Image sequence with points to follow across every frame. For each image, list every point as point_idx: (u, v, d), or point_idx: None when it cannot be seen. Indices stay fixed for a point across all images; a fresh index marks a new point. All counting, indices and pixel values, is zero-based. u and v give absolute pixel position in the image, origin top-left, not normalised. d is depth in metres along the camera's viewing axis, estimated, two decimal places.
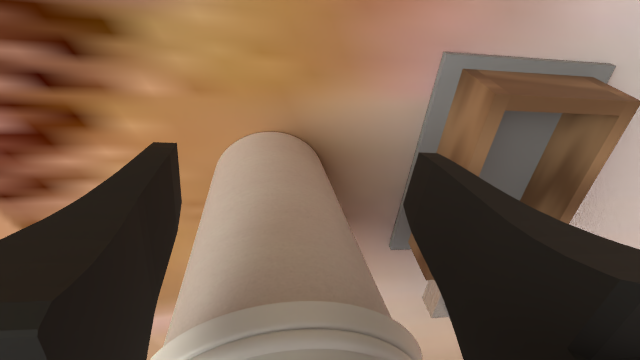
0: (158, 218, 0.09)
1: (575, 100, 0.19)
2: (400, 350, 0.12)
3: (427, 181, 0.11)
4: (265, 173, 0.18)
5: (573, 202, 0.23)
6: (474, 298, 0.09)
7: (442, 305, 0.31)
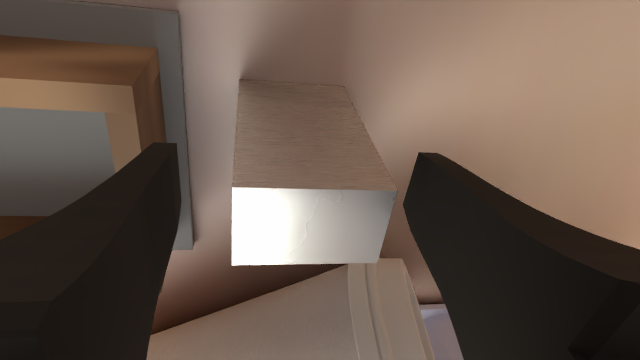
0: (158, 218, 0.09)
1: None
2: None
3: (427, 181, 0.11)
4: None
5: None
6: (474, 298, 0.09)
7: None
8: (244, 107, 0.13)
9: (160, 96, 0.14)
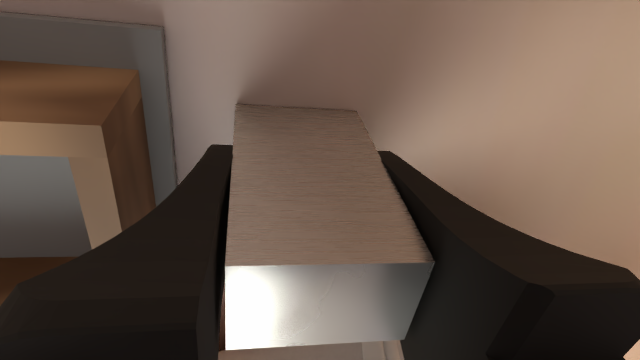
0: (226, 218, 0.10)
1: None
2: None
3: None
4: None
5: None
6: None
7: None
8: (241, 143, 0.11)
9: (143, 125, 0.12)
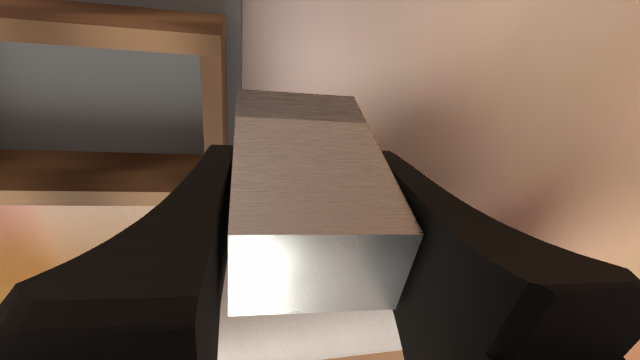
0: (225, 218, 0.10)
1: None
2: None
3: None
4: (254, 358, 0.21)
5: (39, 36, 0.14)
6: (414, 300, 0.09)
7: None
8: (242, 125, 0.11)
9: (225, 52, 0.18)
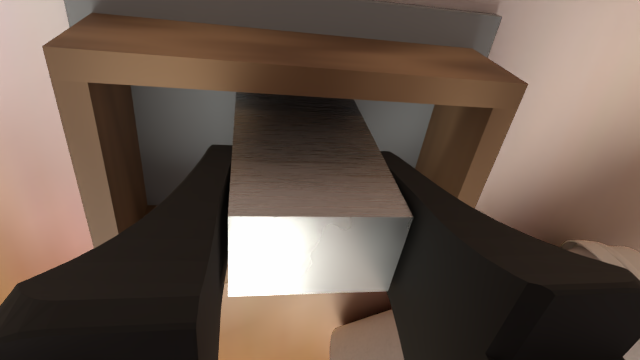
0: (226, 218, 0.10)
1: (81, 182, 0.11)
2: None
3: None
4: None
5: (313, 87, 0.11)
6: (413, 300, 0.09)
7: None
8: (242, 116, 0.12)
9: None
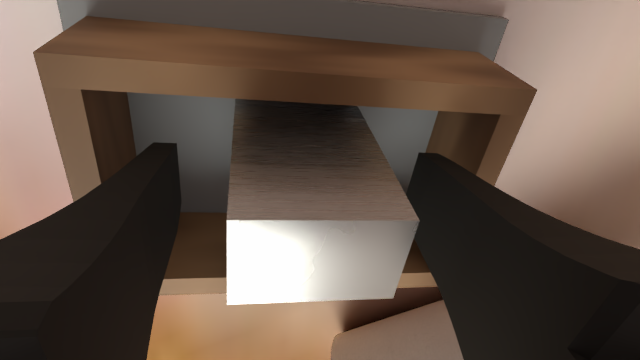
0: (159, 218, 0.09)
1: (75, 191, 0.11)
2: None
3: (427, 181, 0.11)
4: None
5: (315, 93, 0.10)
6: (474, 298, 0.09)
7: None
8: (241, 119, 0.11)
9: None
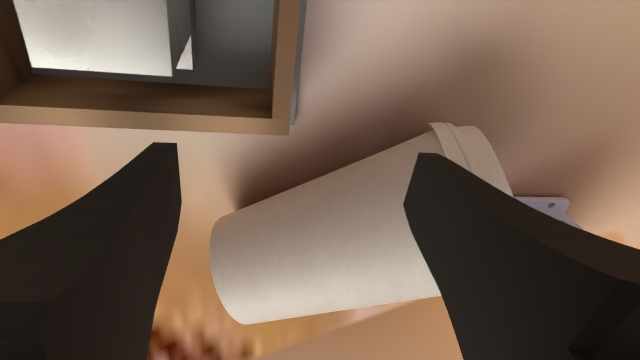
0: (158, 218, 0.09)
1: None
2: None
3: (427, 181, 0.11)
4: (314, 300, 0.20)
5: None
6: (474, 298, 0.09)
7: None
8: None
9: None
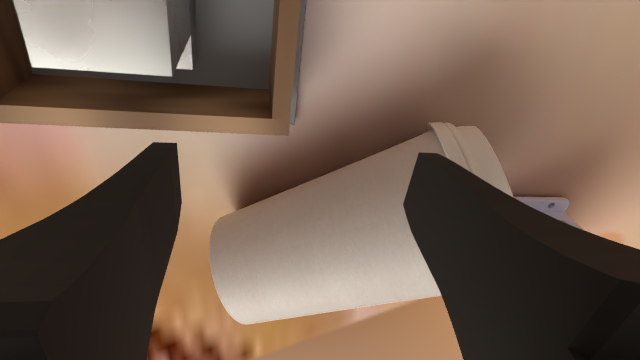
0: (158, 218, 0.09)
1: None
2: None
3: (427, 181, 0.11)
4: (314, 300, 0.20)
5: None
6: (474, 298, 0.09)
7: None
8: None
9: None
